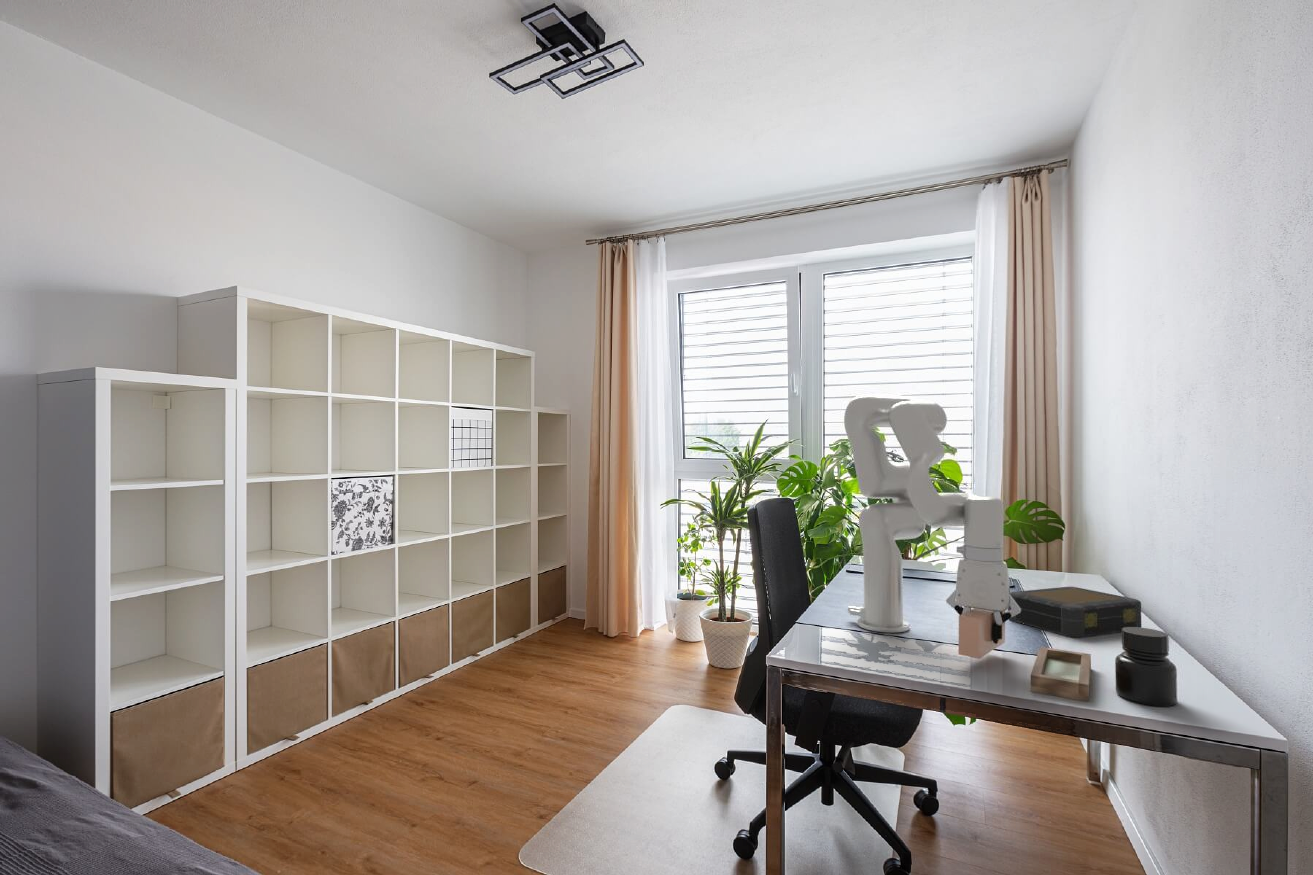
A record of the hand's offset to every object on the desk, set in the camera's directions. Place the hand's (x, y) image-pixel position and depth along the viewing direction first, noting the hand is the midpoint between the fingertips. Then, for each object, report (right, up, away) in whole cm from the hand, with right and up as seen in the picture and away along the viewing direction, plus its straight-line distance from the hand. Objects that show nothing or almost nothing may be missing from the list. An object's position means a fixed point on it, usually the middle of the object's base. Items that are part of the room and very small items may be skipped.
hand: (982, 638), depth 139 cm
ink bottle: (+19, -4, -21) cm, 29 cm away
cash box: (+39, -6, +31) cm, 51 cm away
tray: (+10, -4, -11) cm, 16 cm away
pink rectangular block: (0, -2, 0) cm, 2 cm away
